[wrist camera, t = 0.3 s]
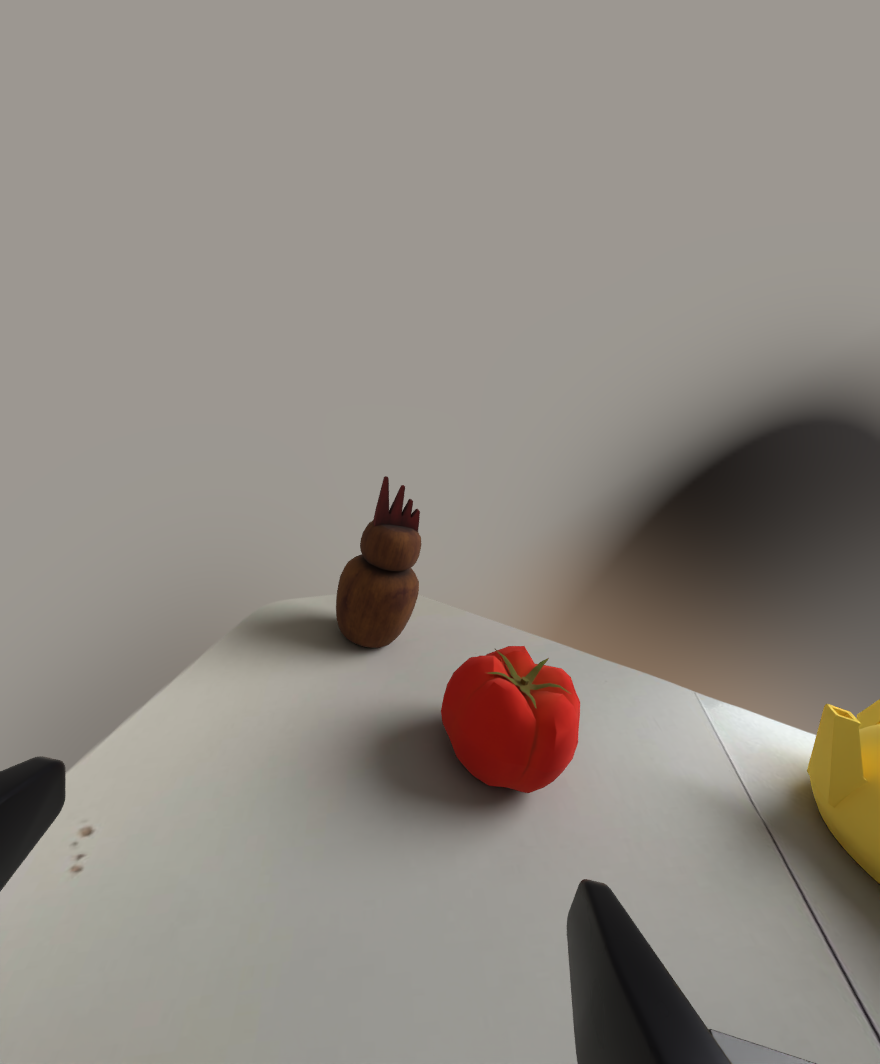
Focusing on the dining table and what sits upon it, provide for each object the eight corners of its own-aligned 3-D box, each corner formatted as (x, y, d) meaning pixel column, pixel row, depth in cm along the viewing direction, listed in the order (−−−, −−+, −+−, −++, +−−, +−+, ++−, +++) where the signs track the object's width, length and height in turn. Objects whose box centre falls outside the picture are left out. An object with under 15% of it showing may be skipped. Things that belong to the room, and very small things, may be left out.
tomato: (558, 742, 37) (596, 666, 35) (546, 837, 29) (595, 747, 26) (450, 690, 39) (478, 614, 37) (410, 766, 31) (443, 676, 28)
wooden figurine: (320, 643, 40) (359, 477, 35) (337, 609, 45) (373, 461, 40) (397, 665, 40) (448, 503, 35) (405, 628, 46) (450, 484, 40)
